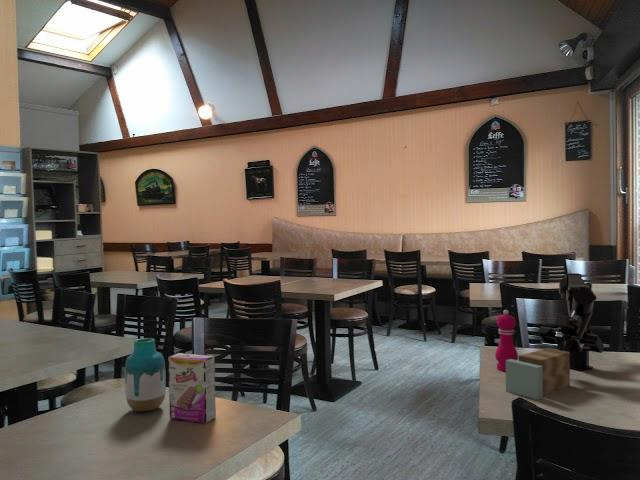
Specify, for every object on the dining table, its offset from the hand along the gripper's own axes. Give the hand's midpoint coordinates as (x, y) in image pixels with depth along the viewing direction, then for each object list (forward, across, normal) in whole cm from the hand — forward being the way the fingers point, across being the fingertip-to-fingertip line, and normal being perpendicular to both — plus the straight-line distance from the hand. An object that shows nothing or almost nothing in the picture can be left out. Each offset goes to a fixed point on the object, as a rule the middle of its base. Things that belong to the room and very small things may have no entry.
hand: (559, 361), depth 157 cm
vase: (+80, -58, -72) cm, 122 cm away
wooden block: (+10, 0, -1) cm, 10 cm away
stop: (+17, 0, -8) cm, 19 cm away
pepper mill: (+4, -19, +5) cm, 20 cm away
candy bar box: (+75, -43, -66) cm, 109 cm away
